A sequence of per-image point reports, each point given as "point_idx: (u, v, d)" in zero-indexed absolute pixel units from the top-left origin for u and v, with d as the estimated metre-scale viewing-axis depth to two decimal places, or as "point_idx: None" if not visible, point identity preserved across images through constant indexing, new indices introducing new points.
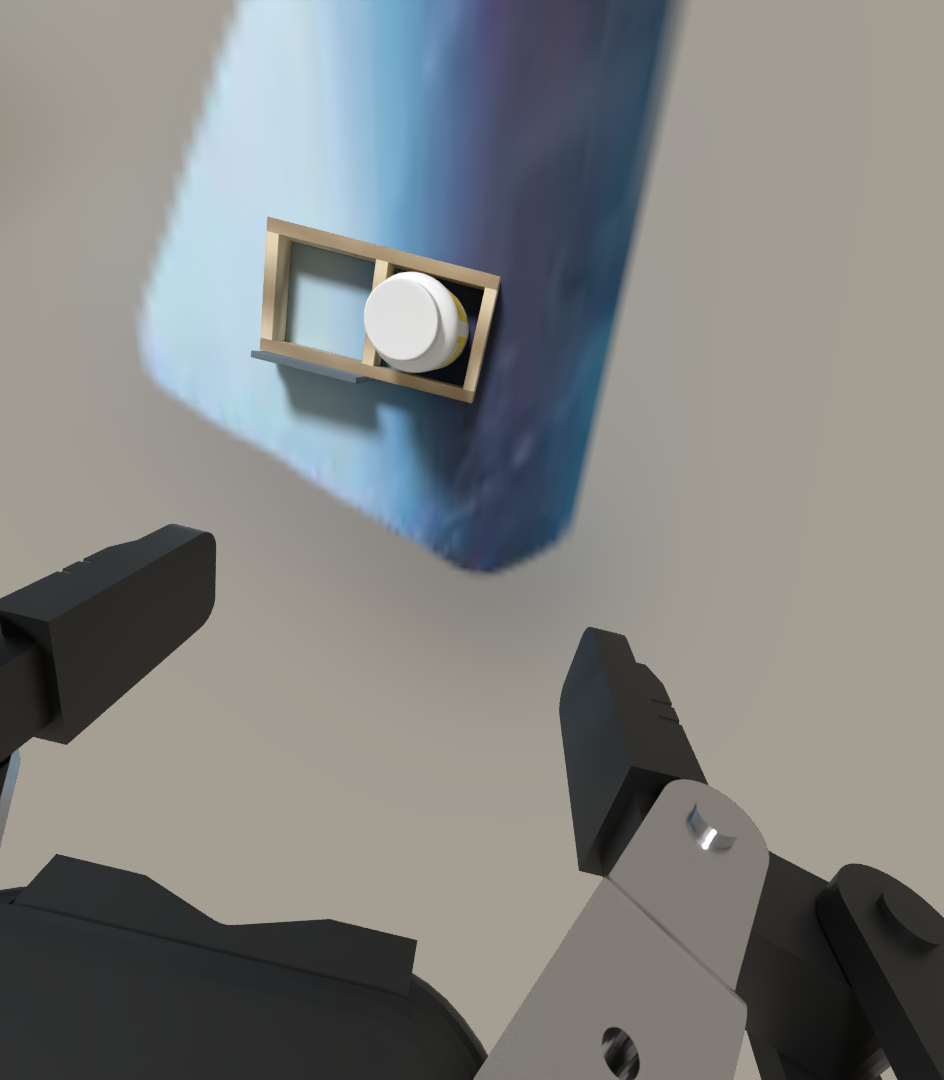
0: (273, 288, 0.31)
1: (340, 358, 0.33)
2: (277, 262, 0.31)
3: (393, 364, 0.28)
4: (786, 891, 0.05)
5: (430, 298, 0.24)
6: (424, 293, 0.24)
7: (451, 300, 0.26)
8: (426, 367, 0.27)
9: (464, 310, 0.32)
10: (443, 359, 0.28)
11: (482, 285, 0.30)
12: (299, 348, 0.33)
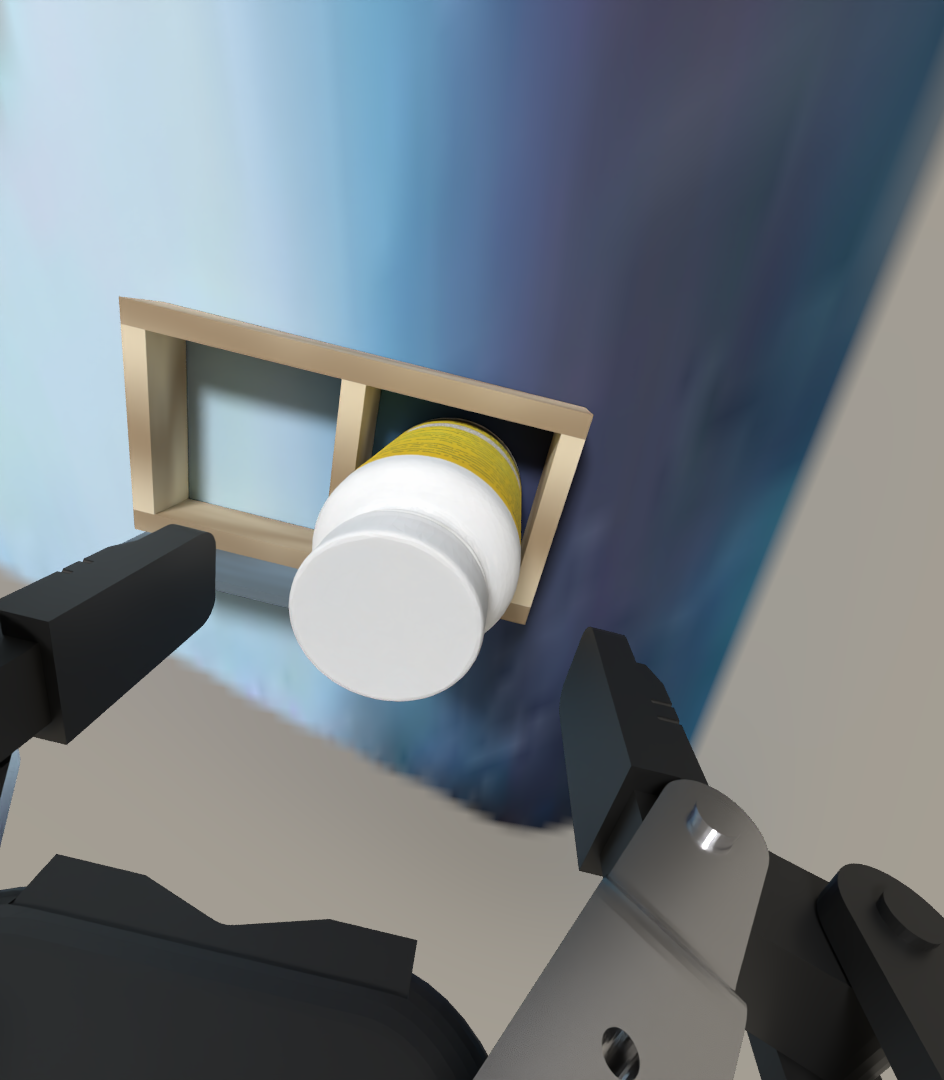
0: (147, 427, 0.16)
1: (282, 546, 0.18)
2: (149, 381, 0.16)
3: None
4: (786, 891, 0.05)
5: (465, 582, 0.09)
6: (448, 571, 0.09)
7: (508, 523, 0.11)
8: None
9: (515, 466, 0.16)
10: (485, 631, 0.12)
11: (556, 430, 0.15)
12: (206, 529, 0.18)
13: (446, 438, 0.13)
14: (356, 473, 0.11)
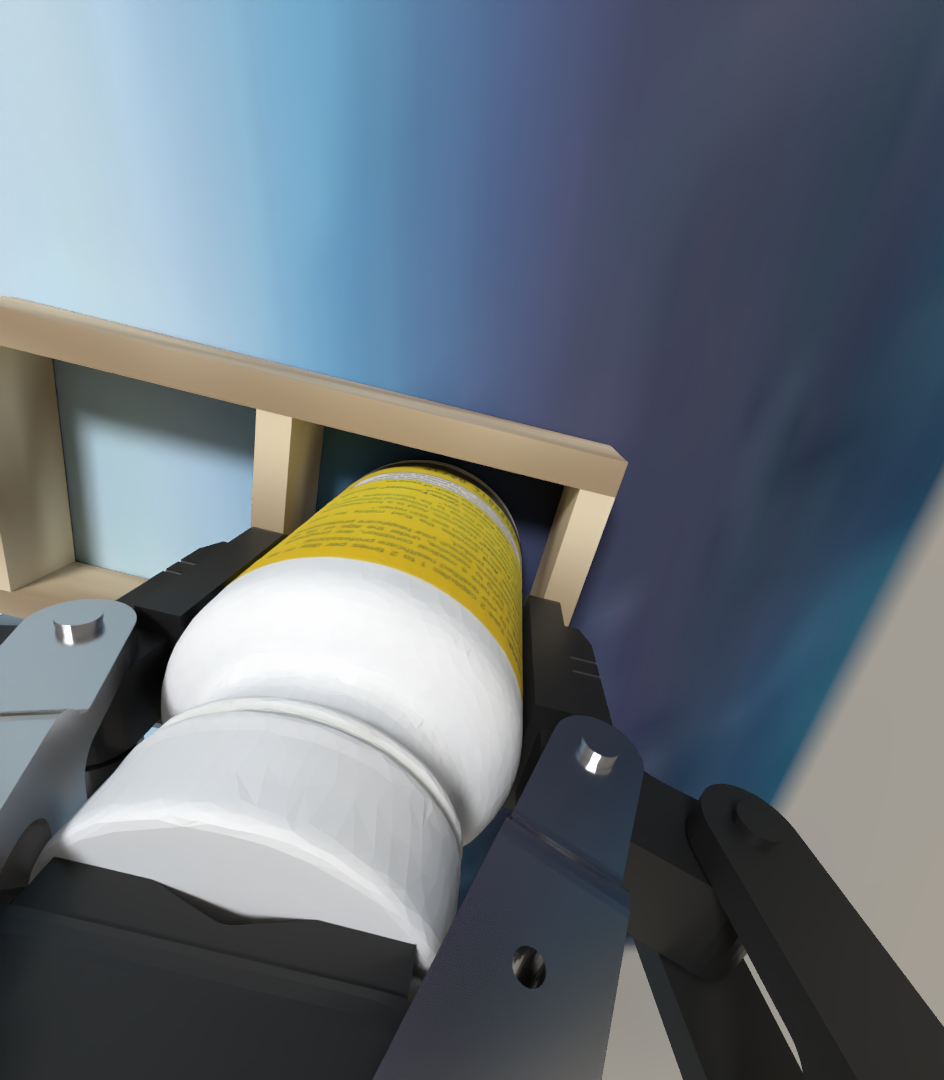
0: None
1: None
2: None
3: None
4: (662, 809, 0.06)
5: (399, 915, 0.04)
6: (359, 896, 0.04)
7: (500, 682, 0.06)
8: None
9: (513, 530, 0.12)
10: None
11: (572, 483, 0.10)
12: None
13: (404, 507, 0.08)
14: (227, 594, 0.06)
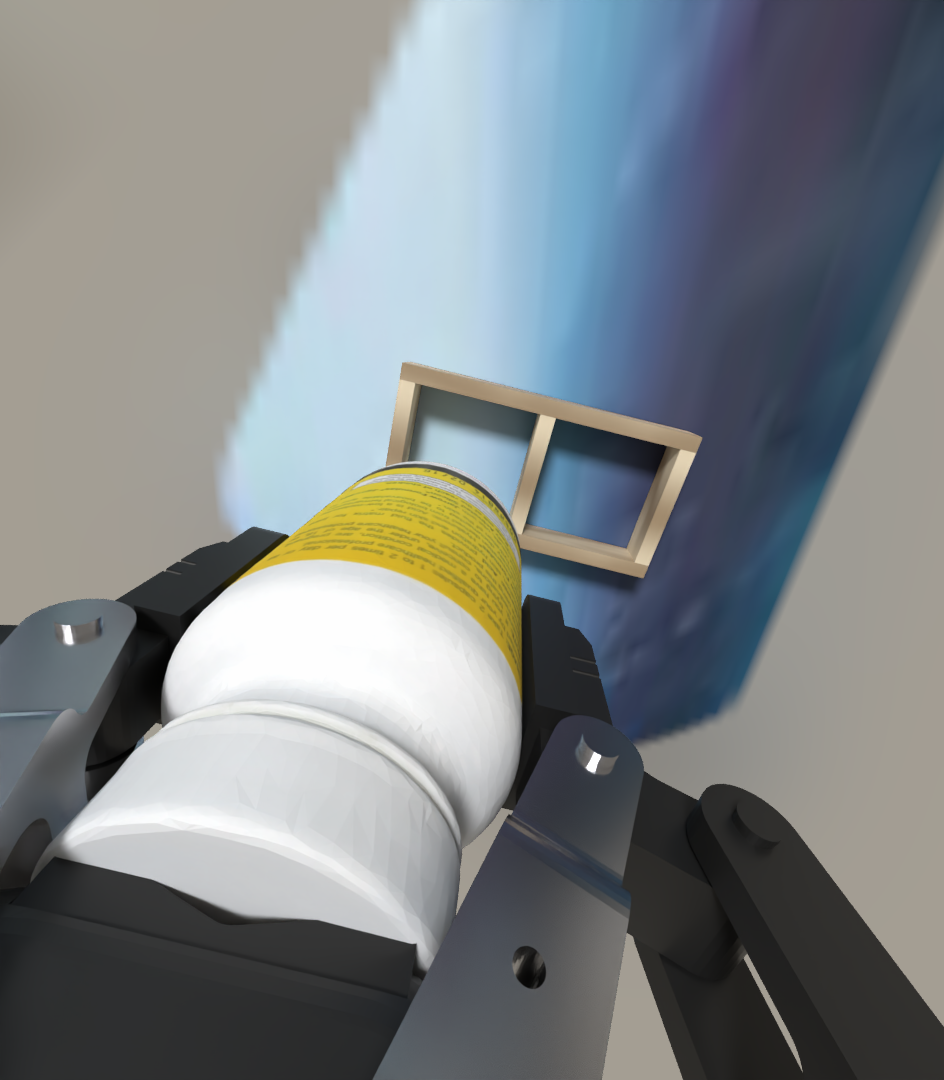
0: (401, 444, 0.25)
1: None
2: (409, 415, 0.24)
3: None
4: (663, 809, 0.06)
5: (397, 918, 0.04)
6: (358, 899, 0.04)
7: (499, 685, 0.06)
8: None
9: (513, 532, 0.12)
10: None
11: (677, 447, 0.24)
12: None
13: (403, 510, 0.08)
14: (226, 597, 0.06)
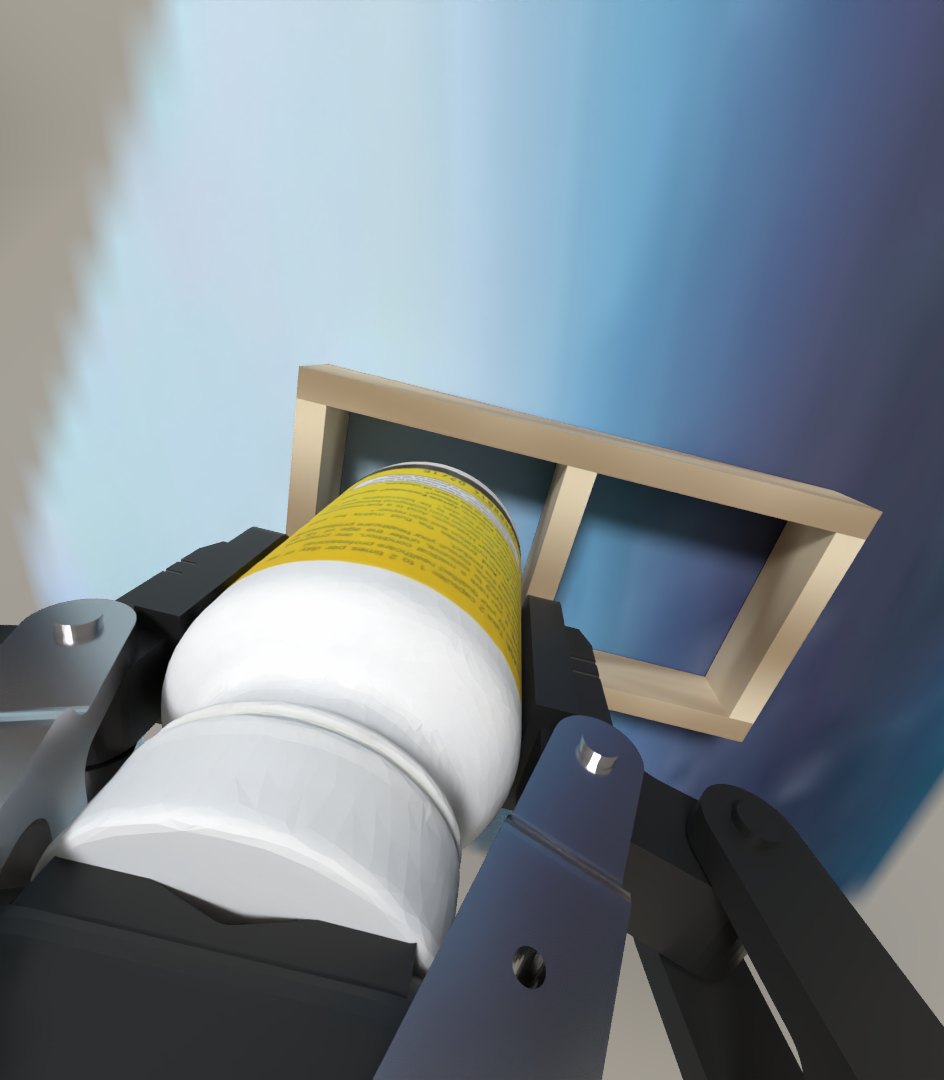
0: (310, 516, 0.13)
1: None
2: (321, 464, 0.13)
3: None
4: (663, 809, 0.06)
5: (397, 918, 0.04)
6: (358, 900, 0.04)
7: (499, 685, 0.06)
8: None
9: (512, 532, 0.12)
10: None
11: (829, 528, 0.12)
12: None
13: (403, 510, 0.08)
14: (226, 597, 0.06)
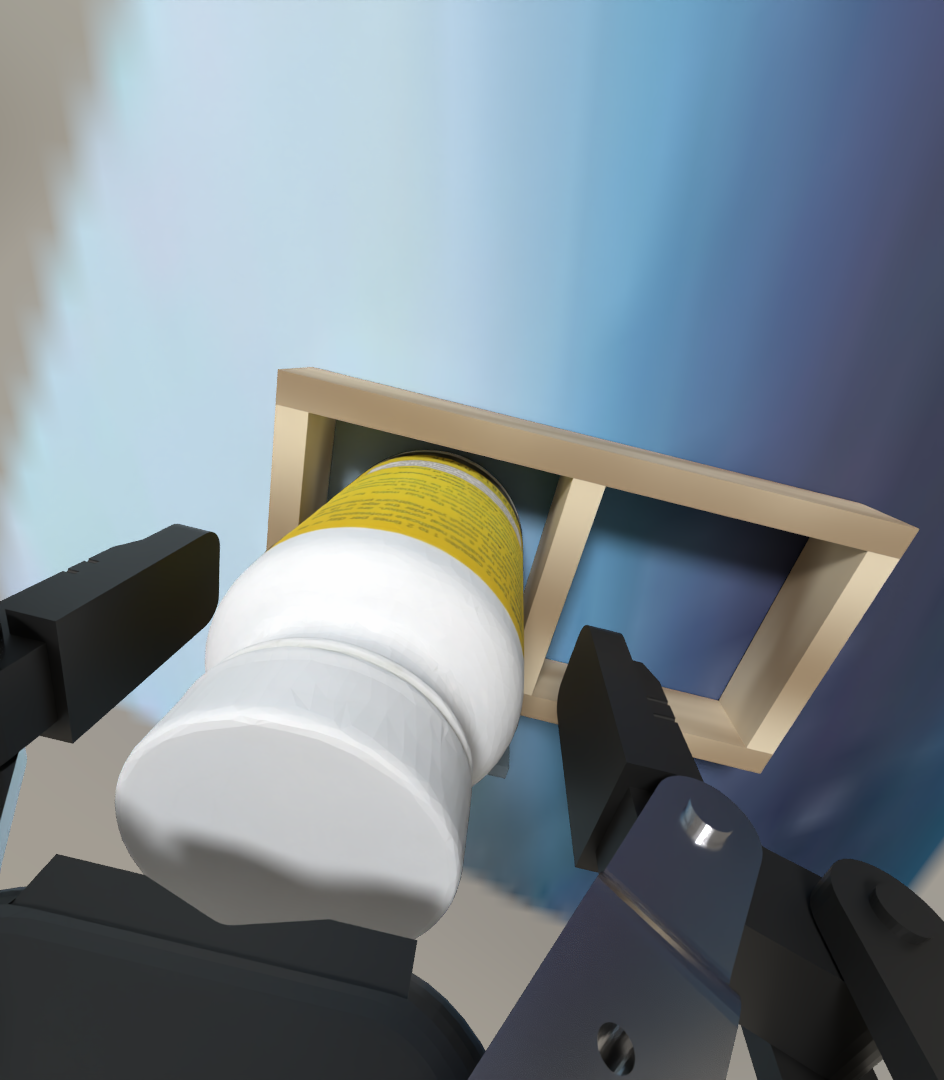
0: None
1: None
2: (304, 476, 0.12)
3: None
4: (779, 886, 0.05)
5: (424, 801, 0.05)
6: (392, 784, 0.05)
7: (504, 636, 0.07)
8: None
9: (515, 515, 0.12)
10: None
11: (860, 546, 0.11)
12: None
13: (416, 489, 0.09)
14: (265, 558, 0.07)
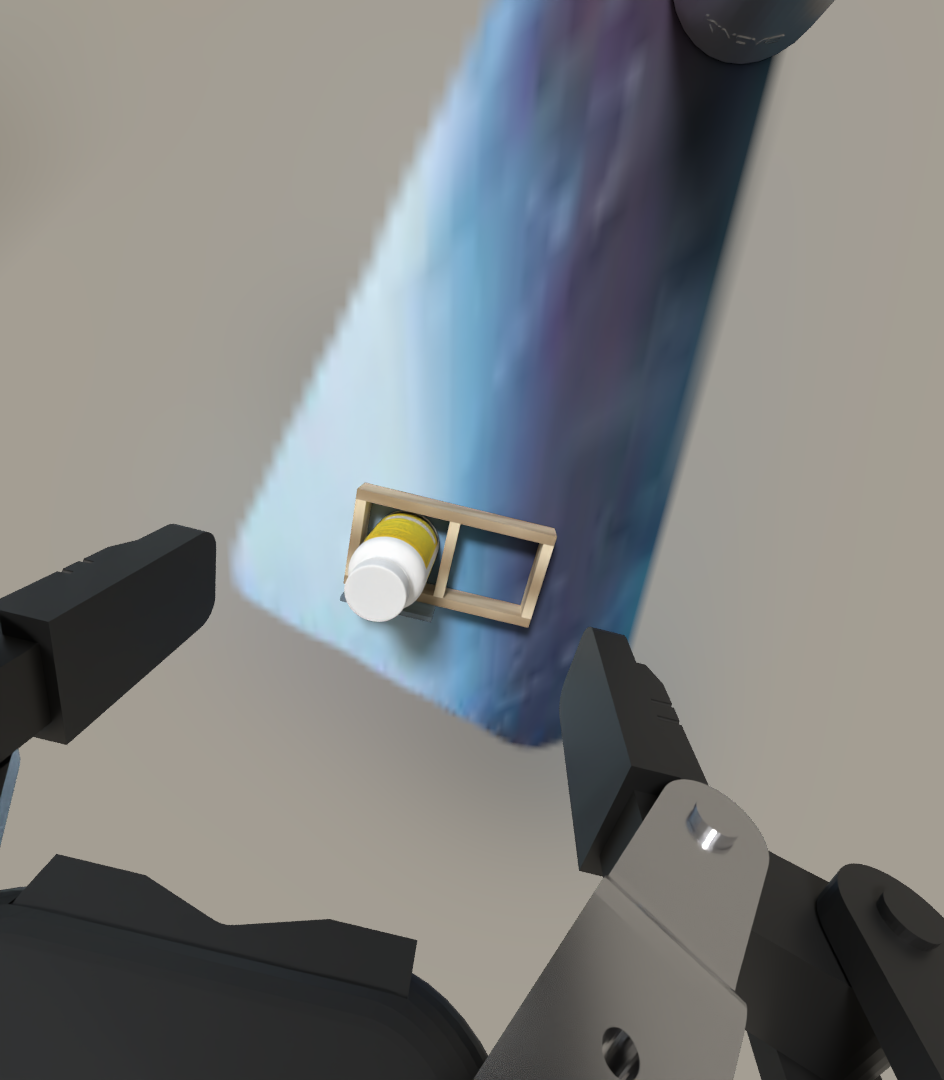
0: (358, 539, 0.36)
1: None
2: (363, 520, 0.36)
3: None
4: (786, 891, 0.05)
5: (399, 580, 0.29)
6: (394, 577, 0.28)
7: (419, 561, 0.31)
8: None
9: (434, 533, 0.36)
10: (413, 601, 0.32)
11: (541, 542, 0.35)
12: None
13: (399, 526, 0.33)
14: (365, 543, 0.31)
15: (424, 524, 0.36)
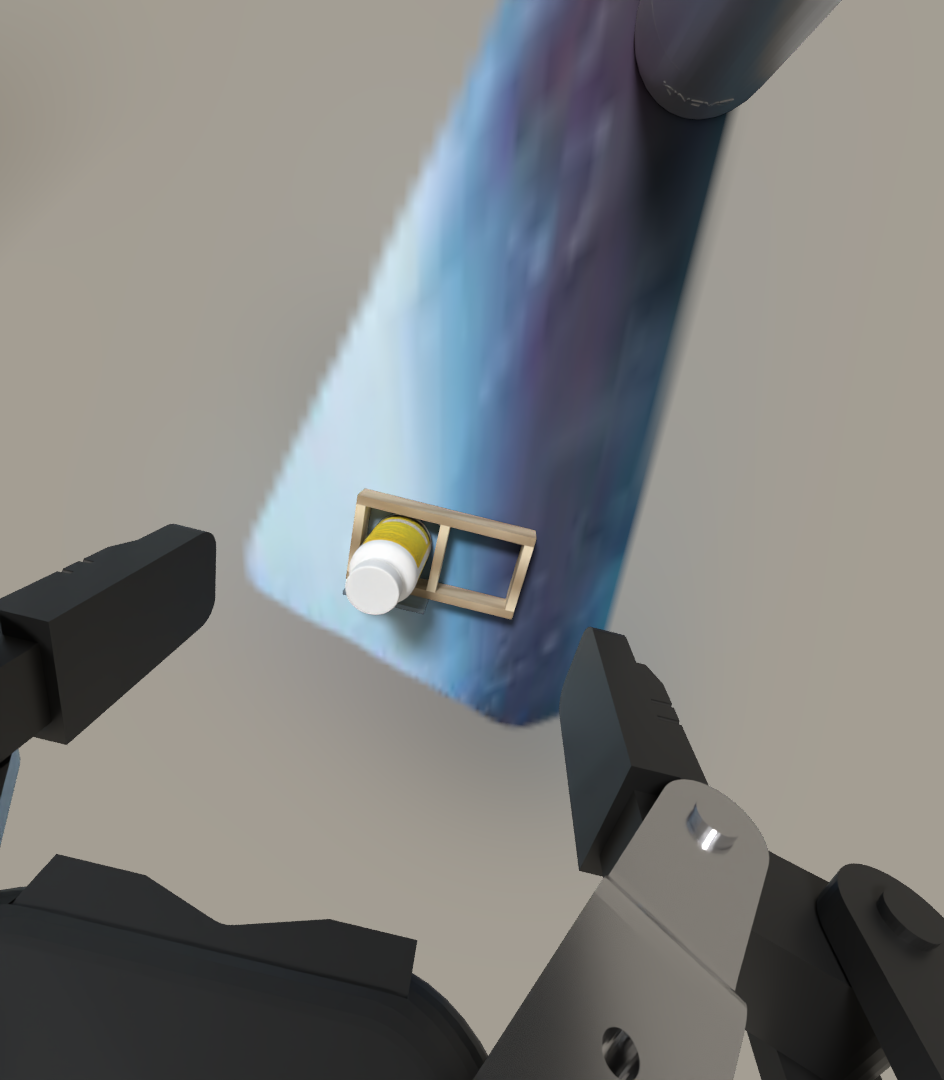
0: (359, 539, 0.40)
1: None
2: (363, 523, 0.40)
3: None
4: (786, 891, 0.05)
5: (393, 579, 0.33)
6: (388, 576, 0.33)
7: (411, 561, 0.35)
8: None
9: (427, 534, 0.41)
10: None
11: (522, 543, 0.39)
12: None
13: (395, 529, 0.37)
14: (363, 546, 0.35)
15: (417, 526, 0.40)
